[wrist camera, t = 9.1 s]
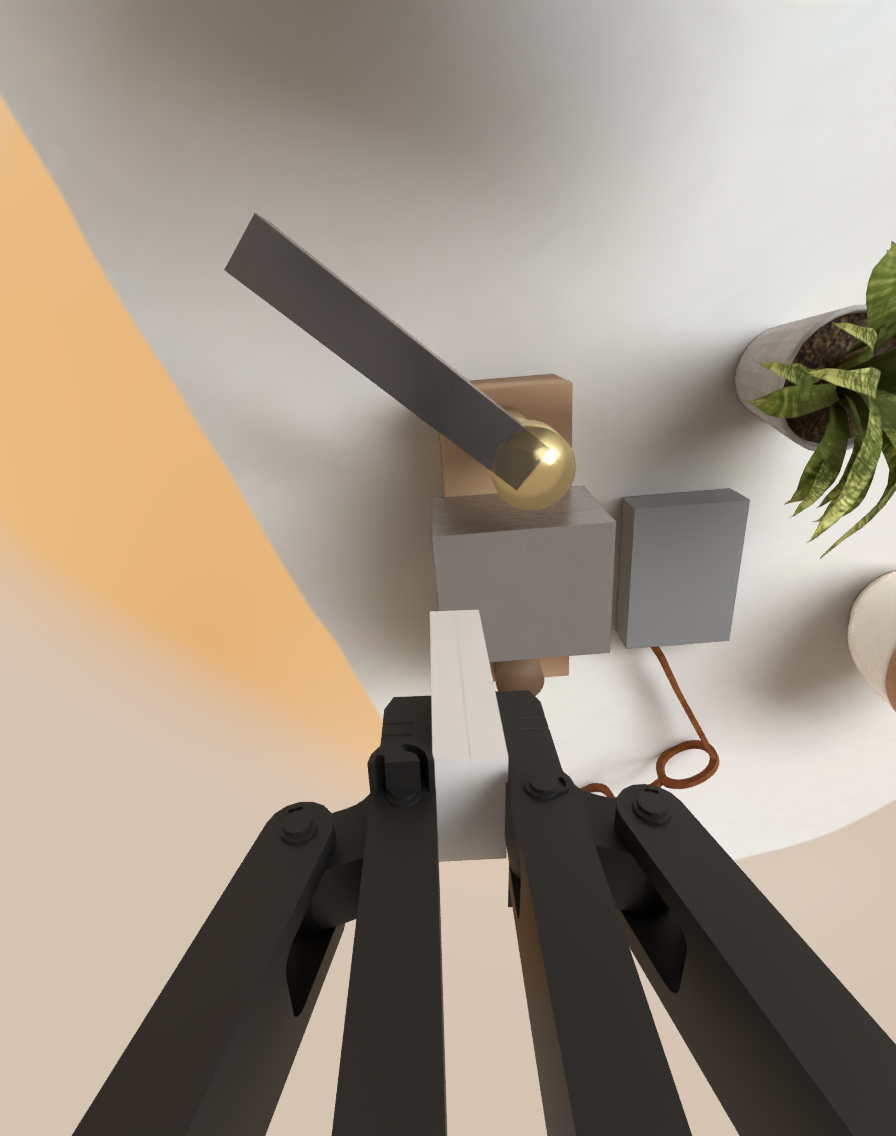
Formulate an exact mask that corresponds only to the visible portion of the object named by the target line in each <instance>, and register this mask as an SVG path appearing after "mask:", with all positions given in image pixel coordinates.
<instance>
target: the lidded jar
mask: <svg viewBox="0 0 896 1136" xmlns="http://www.w3.org/2000/svg"><path fill="white" fill-rule="evenodd" d="M848 644H849V649H850V653H851V656H852V658H853V661H854V663H855V665H856V667H857V669H858V670H859V672H860V673H861V675H862V676H863V677H864V679H865V680H866V681H867V683H868V684H869V685H870V686H871V687H872V689H873V690H874V691H875V692H876V693H877V694H878V695H879V696H880V697H881V698H882V699H883V700H884V701H886V702H887V703H888V704H889V705H890V706H891V707H893V709H894V710H895V711H896V571H893V572H890V573H887V574H885V575H883V576H881V577H879V578H877V579H875V580H874V581H872V582H871V583H870V584H869V585H867V586H866V587H865V588H864V589H863V590H862V591H861V592H860V594H859V595H858V596H857V598H856V600H855V601H854V603H853V605H852V608H851V612H850V622H849V627H848Z"/></svg>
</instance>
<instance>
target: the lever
mask: <svg viewBox="0 0 896 1136" xmlns="http://www.w3.org/2000/svg"><path fill="white" fill-rule="evenodd" d="M225 271H227V272H228V273H229V274H231V275H232V276H233V277H234V278H236V279H237V280H238V281H240V282H241V283H242V284H244V285H245V286H246V287H248V288H249V289H250V290H252V291H253V292H254V293H256V294H257V295H258V296H260V297H261V298H262V299H264V300H265V301H266V302H268V303H269V304H270V305H272V306H273V307H274V308H276V309H277V310H278V311H279V312H281V313H282V314H283V315H285V316H286V317H287V318H289V319H290V320H291V321H293V322H294V323H295V324H297V325H298V326H299V327H301V328H302V329H303V330H305V331H306V332H307V333H309V334H310V335H311V336H313V337H314V338H315V339H317V340H318V341H319V342H321V343H322V344H323V345H325V346H326V347H327V348H328V349H330V350H331V351H332V352H334V353H335V354H336V355H338V356H339V357H340V358H342V359H343V360H344V361H346V362H347V363H348V364H350V365H351V366H352V367H354V368H355V369H356V370H358V371H359V372H360V373H362V374H363V375H364V376H366V377H367V378H368V379H370V380H371V381H372V382H373V383H375V384H376V385H377V386H379V387H380V388H381V389H383V390H384V391H385V392H387V393H388V394H389V395H391V396H392V397H393V398H395V399H396V400H397V401H399V402H400V403H401V404H403V405H404V406H405V407H407V408H408V409H409V410H411V411H412V412H413V413H415V414H416V415H417V416H418V417H420V418H421V419H422V420H424V421H425V422H426V423H428V424H429V425H430V426H432V427H433V428H434V429H436V430H437V431H438V432H440V433H441V434H442V435H444V436H445V437H446V438H448V439H449V440H450V441H452V442H453V443H454V444H456V445H457V446H458V447H460V448H461V449H462V450H464V451H465V452H466V453H467V454H469V455H470V456H471V457H473V458H474V459H475V460H477V461H478V462H479V463H481V464H482V465H483V466H485V467H486V468H487V469H489V473H490V476H491V479H492V481H493V484H494V487H495V489H496V491H497V492H498V494H499V495H500V497H501V498H502V499H503V500H504V501H505V502H507V503H508V504H510V505H511V506H513V507H516V508H519V509H522V510H539V509H543V508H546V507H549V506H551V505H553V504H554V503H556V502H557V501H558V500H560V499H561V498H562V497H563V496H564V495H565V494H566V492H567V491H568V489H569V488H570V486H571V484H572V482H573V479H574V475H575V457H574V454H573V451H572V449H571V447H570V445H569V444H568V443H567V441H566V440H565V439H564V438H563V437H562V436H561V435H560V434H558V433H557V432H556V431H555V430H554V429H553V428H552V427H550V426H549V425H547V424H545V423H543V422H540V421H535V420H523V421H518V420H517V419H516V418H514V417H513V416H512V415H511V414H509V413H508V412H507V411H506V410H504V409H503V408H502V407H501V406H499V405H498V404H497V403H496V402H494V401H493V400H492V399H491V398H489V397H488V396H487V395H486V394H484V393H483V392H482V391H481V390H479V389H478V388H477V387H476V386H474V385H473V384H472V383H471V382H469V381H468V380H467V379H466V378H464V377H463V376H462V375H461V374H459V373H458V372H457V371H456V370H454V369H453V368H452V367H451V366H449V365H448V364H447V363H446V362H444V361H443V360H442V359H440V358H439V357H438V356H437V355H435V354H434V353H433V352H432V351H430V350H429V349H428V348H427V347H425V346H424V345H423V344H422V343H420V342H419V341H418V340H417V339H415V338H414V337H413V336H412V335H410V334H409V333H408V332H407V331H405V330H404V329H403V328H402V327H400V326H399V325H398V324H397V323H395V322H394V321H393V320H392V319H390V318H389V317H388V316H387V315H385V314H384V313H383V312H382V311H380V310H379V309H378V308H377V307H375V306H374V305H373V304H372V303H370V302H369V301H368V300H367V299H365V298H364V297H363V296H362V295H360V294H359V293H358V292H357V291H355V290H354V289H353V288H352V287H350V286H349V285H348V284H347V283H345V282H344V281H343V280H342V279H340V278H339V277H338V276H337V275H335V274H334V273H333V272H332V271H330V270H329V269H328V268H327V267H325V266H324V265H323V264H322V263H320V262H319V261H318V260H317V259H315V258H314V257H313V256H312V255H310V254H309V253H308V252H307V251H305V250H304V249H303V248H302V247H300V246H299V245H298V244H297V243H295V242H294V241H293V240H292V239H290V238H289V237H288V236H287V235H285V234H284V233H283V232H282V231H280V230H279V229H278V228H277V227H275V226H274V225H273V224H272V223H270V222H269V221H267V220H266V219H264V218H262V217H261V216H259V215H257V214H255V213H254V215H253V217H252V219H251V221H250V223H249V225H248V227H247V229H246V230H245V232H244V234H243V236H242V238H241V240H240V242H239V244H238V245H237V247H236V249H235V251H234V253H233V255H232V257H231V259H230V261H229V262H228V264H227V266H226V268H225Z"/></svg>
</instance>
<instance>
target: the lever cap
mask: <svg viewBox="0 0 896 1136" xmlns="http://www.w3.org/2000/svg"><path fill="white" fill-rule="evenodd" d="M615 536H616V521H615V520H614V519H613V518H612V517H611V516H610V514H609V513H608V512H607V511H606V510H605V509H604V508H603V507H602V506H601V504H600V503H599V502H598V501H597V500H596V499H595V498H594V497H593V496H592V494H591V493H590V492H589V491H588V490H587V489H586V488H585V487H584V486H575V487H570V488H569V489H568V491H567V492H566V494H565V495H564V496H563V497H562V498H561V499H560V500H558V501H557V502H556V503H554V504H553V505H551V506H549V507H546V508H543V509H539V510H522V509H519V508H516V507H513V506H511V505H510V504H508V503H507V502H505V501H504V500H503V499H502V498H501V497H500V495H499V494H498V493H490V494H478V495H466V496H454V497H442V498H432V544H433V554H434V565H435V575H436V585H437V596H438V606H439V611H456V610H479V614H480V619H481V624H482V629H483V633H484V638H485V643H486V648H487V653H488V658H489V662H499V661H512V660H524V659H537V658H550V657H562V656H575V655H587V654H600V653H610V642H611V621H612V600H613V578H614V557H615Z"/></svg>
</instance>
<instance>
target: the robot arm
mask: <svg viewBox="0 0 896 1136" xmlns="http://www.w3.org/2000/svg"><path fill="white" fill-rule="evenodd" d="M430 651H431V696H411V697H393V699H392V700H391V702H390V703H389V704H388V706H387V707H386V708H385V710H384V718H383V727H382V738H381V745H380V747H379V748H378V749H377V750H375V751H374V752H373V753H372V754H371V756H370V759H369V761H368V774H369V784H370V794H369V795H368V796H367V797H366V798H365V799H364V800H363V801H361V802H359V803H358V804H357V805H354V806H352V807H349V808H347V809H344V810H341V811H338V812H335V813H331V812H330V811H329V810H328V809H327V808H326V807H325V806H324V805H321V804H318V803H315V802H299V803H295V804H292V805H289V806H286V807H285V808H283V809H282V810H280V811H278V812H277V813H275V814H274V815H273V817H272V818H271V819H270V820H269V821H268V822H267V823H266V825H265V826H264V828H263V830H262V831H261V833H260V834H259V836H258V838H257V840H256V841H255V842H254V844H253V846H252V847H251V849H250V851H249V852H248V854H247V855H246V857H245V859H244V860H243V862H242V863H241V865H240V867H239V868H238V870H237V871H236V873H235V875H234V876H233V878H232V879H231V881H230V883H229V884H228V886H227V887H226V889H225V891H224V892H223V894H222V895H221V897H220V899H219V900H218V902H217V904H216V905H215V907H214V908H213V910H212V911H211V913H210V915H209V916H208V918H207V919H206V921H205V923H204V924H203V926H202V927H201V929H200V931H199V932H198V934H197V936H196V937H195V939H194V940H193V942H192V944H191V945H190V947H189V948H188V950H187V952H186V953H185V955H184V956H183V958H182V960H181V961H180V963H179V964H178V966H177V968H176V969H175V971H174V972H173V974H172V976H171V977H170V979H169V980H168V982H167V984H166V985H165V987H164V989H163V990H162V992H161V993H160V995H159V996H158V998H157V1000H156V1001H155V1003H154V1004H153V1006H152V1008H151V1009H150V1011H149V1012H148V1014H147V1016H146V1017H145V1019H144V1021H143V1022H142V1024H141V1026H140V1027H139V1029H138V1030H137V1032H136V1034H135V1035H134V1037H133V1038H132V1040H131V1041H130V1043H129V1045H128V1046H127V1048H126V1049H125V1051H124V1053H123V1054H122V1056H121V1057H120V1059H119V1061H118V1062H117V1064H116V1065H115V1067H114V1069H113V1070H112V1072H111V1074H110V1075H109V1077H108V1078H107V1080H106V1082H105V1083H104V1085H103V1086H102V1088H101V1089H100V1091H99V1093H98V1094H97V1096H96V1097H95V1099H94V1101H93V1102H92V1104H91V1106H90V1107H89V1109H88V1110H87V1112H86V1114H85V1115H84V1117H83V1118H82V1120H81V1122H80V1123H79V1125H78V1126H77V1128H76V1130H75V1132H74V1133H73V1134H72V1136H265V1135H266V1132H267V1130H268V1127H269V1124H270V1122H271V1119H272V1116H273V1114H274V1111H275V1109H276V1106H277V1103H278V1101H279V1098H280V1096H281V1093H282V1090H283V1088H284V1085H285V1082H286V1080H287V1077H288V1074H289V1072H290V1069H291V1067H292V1064H293V1061H294V1059H295V1056H296V1054H297V1051H298V1048H299V1046H300V1043H301V1041H302V1038H303V1035H304V1033H305V1030H306V1027H307V1025H308V1022H309V1019H310V1017H311V1014H312V1012H313V1009H314V1006H315V1004H316V1001H317V998H318V996H319V993H320V991H321V988H322V985H323V982H324V980H325V978H326V975H327V972H328V969H329V967H330V964H331V962H332V959H333V957H334V954H335V951H336V949H337V946H338V944H339V941H340V938H341V935H342V933H343V930H344V926H345V923H346V922H349V921H351V920H354V919H356V929H355V937H354V945H353V954H352V963H351V972H350V981H349V989H348V998H347V1007H346V1016H345V1024H344V1033H343V1042H342V1050H341V1059H340V1069H339V1076H338V1085H337V1094H336V1104H335V1112H334V1121H333V1129H332V1136H447V1115H446V1114H447V1113H446V1081H445V1051H444V1050H445V1048H444V1015H443V984H442V953H441V952H442V951H441V918H440V885H439V862H441V861H459V860H460V861H461V860H481V859H499V858H500V859H501V858H506V846H507V852H508V858H509V890H508V907H513V912H514V919H515V925H516V931H517V939H518V945H519V952H520V958H521V965H522V972H523V978H524V985H525V991H526V998H527V1004H528V1011H529V1018H530V1024H531V1031H532V1037H533V1044H534V1050H535V1056H536V1063H537V1070H538V1077H539V1082H540V1090H541V1096H542V1103H543V1109H544V1116H545V1122H546V1129H547V1135H548V1136H692V1134H691V1131H690V1128H689V1125H688V1122H687V1119H686V1116H685V1113H684V1110H683V1107H682V1104H681V1101H680V1098H679V1095H678V1092H677V1089H676V1086H675V1083H674V1080H673V1077H672V1074H671V1071H670V1068H669V1065H668V1062H667V1059H666V1056H665V1053H664V1050H663V1047H662V1044H661V1041H660V1038H659V1035H658V1032H657V1029H656V1026H655V1023H654V1020H653V1017H652V1014H651V1011H650V1009H649V1005H648V1002H647V999H646V996H645V993H644V990H643V987H642V984H641V981H640V978H639V975H638V972H637V969H636V966H635V963H634V960H633V957H632V954H631V951H632V952H633V954H634V956H635V957H636V959H637V961H638V963H639V964H640V966H641V968H642V969H643V971H644V973H645V975H646V976H647V978H648V980H649V981H650V983H651V985H652V986H653V988H654V990H655V991H656V993H657V995H658V996H659V998H660V1000H661V1002H662V1004H663V1005H664V1007H665V1009H666V1010H667V1012H668V1013H669V1016H670V1017H671V1019H672V1021H673V1022H674V1024H675V1026H676V1027H677V1029H678V1031H679V1033H680V1034H681V1036H682V1038H683V1039H684V1041H685V1043H686V1045H687V1046H688V1048H689V1050H690V1052H691V1053H692V1055H693V1057H694V1058H695V1060H696V1062H697V1063H698V1065H699V1067H700V1068H701V1070H702V1072H703V1074H704V1075H705V1077H706V1079H707V1081H708V1082H709V1084H710V1086H711V1087H712V1089H713V1091H714V1093H715V1094H716V1096H717V1097H718V1099H719V1101H720V1103H721V1105H722V1106H723V1108H724V1110H725V1111H726V1113H727V1115H728V1117H729V1118H730V1120H731V1121H732V1123H733V1125H734V1127H735V1128H736V1130H737V1132H738V1134H739V1135H740V1136H896V1044H895V1043H894V1042H893V1041H892V1040H891V1039H890V1038H889V1036H888V1035H887V1034H886V1033H885V1032H884V1031H883V1030H882V1029H881V1027H880V1026H879V1025H878V1024H877V1023H876V1022H875V1020H874V1019H873V1018H872V1017H871V1016H870V1015H869V1014H868V1012H867V1011H866V1010H865V1009H864V1008H863V1007H862V1006H861V1005H860V1004H859V1002H858V1001H857V1000H856V999H855V998H854V997H853V996H852V994H851V993H850V992H849V991H848V990H847V989H846V988H845V987H844V985H843V984H842V983H841V982H840V981H839V980H838V979H837V977H836V976H835V975H834V974H833V973H832V972H831V971H830V969H829V968H828V967H827V966H826V965H825V964H824V963H823V962H822V960H821V959H820V958H819V957H818V956H817V955H816V954H815V952H814V951H813V950H812V949H811V948H810V947H809V946H808V945H807V944H806V942H805V941H804V940H803V939H802V938H801V937H800V936H799V934H798V933H797V932H796V931H795V930H794V929H793V928H792V926H791V925H790V924H789V923H788V922H787V921H786V920H785V918H784V917H783V916H782V915H781V914H780V913H779V912H778V911H777V910H776V908H775V907H774V906H773V905H772V904H771V903H770V902H769V901H768V899H767V898H766V897H765V896H764V895H763V894H762V892H761V891H759V889H758V888H757V887H756V886H755V885H754V884H753V882H752V881H751V880H750V879H749V878H748V877H747V875H746V874H745V873H744V872H743V871H742V870H741V869H740V868H739V866H738V865H737V864H736V863H735V862H734V861H733V860H732V858H731V857H730V856H729V855H728V854H727V853H726V852H725V851H724V849H723V848H722V847H721V846H720V845H719V844H718V843H717V841H716V840H715V839H714V838H713V837H712V836H711V835H710V834H709V832H708V831H707V830H706V829H705V828H704V827H703V826H702V825H701V823H700V822H699V821H698V820H697V819H696V818H695V817H694V815H693V814H692V813H691V812H690V811H689V810H688V809H687V808H686V806H685V805H684V804H683V803H682V802H681V801H680V800H679V799H678V798H676V797H675V796H674V795H673V794H672V793H670V792H668V791H666V790H664V789H662V788H660V787H657V786H652V785H647V784H639V785H631V786H629V787H627V788H625V789H623V790H622V791H621V793H620V794H619V795H618V797H617V799H614V798H609V797H604V796H599V795H595V794H592V793H588V792H586V791H584V790H582V789H580V788H578V787H577V786H575V785H574V783H573V781H572V780H571V778H570V777H569V776H568V775H567V774H565V773H564V772H563V770H562V768H561V765H560V762H559V758H558V755H557V752H556V749H555V746H554V743H553V740H552V737H551V733H550V730H549V729H548V724H547V721H546V718H545V715H544V712H543V708H542V705H541V702H540V701H539V700H538V699H537V698H536V697H535V696H534V695H533V694H532V693H531V692H530V691H529V690H521V691H497V692H495V688H494V683H493V678H492V673H491V668H490V663H489V658H488V653H487V648H486V643H485V638H484V633H483V629H482V624H481V619H480V614H479V610H456V611H430ZM629 947H630V948H629ZM630 949H631V951H630Z"/></svg>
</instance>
